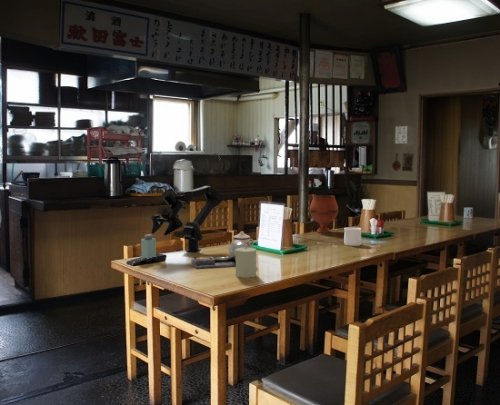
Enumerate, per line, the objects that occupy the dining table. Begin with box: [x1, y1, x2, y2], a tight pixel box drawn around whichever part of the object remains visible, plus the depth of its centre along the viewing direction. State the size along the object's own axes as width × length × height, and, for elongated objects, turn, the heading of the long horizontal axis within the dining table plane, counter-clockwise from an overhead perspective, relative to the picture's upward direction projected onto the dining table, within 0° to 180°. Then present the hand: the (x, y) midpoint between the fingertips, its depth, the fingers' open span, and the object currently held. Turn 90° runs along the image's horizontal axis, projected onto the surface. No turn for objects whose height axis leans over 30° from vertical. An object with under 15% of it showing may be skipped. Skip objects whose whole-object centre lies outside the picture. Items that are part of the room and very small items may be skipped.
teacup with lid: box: [233, 231, 254, 248], centre depth 260 cm, size 12×9×12 cm
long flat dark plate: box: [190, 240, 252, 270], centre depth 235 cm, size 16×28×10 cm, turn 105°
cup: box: [343, 226, 362, 247], centre depth 284 cm, size 10×10×10 cm
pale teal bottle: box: [140, 233, 157, 259], centre depth 240 cm, size 5×5×13 cm
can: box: [234, 247, 257, 279], centre depth 212 cm, size 9×9×12 cm
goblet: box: [309, 194, 339, 234], centre depth 330 cm, size 19×19×25 cm
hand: (158, 234), depth 245 cm, fingers open, 9 cm apart
